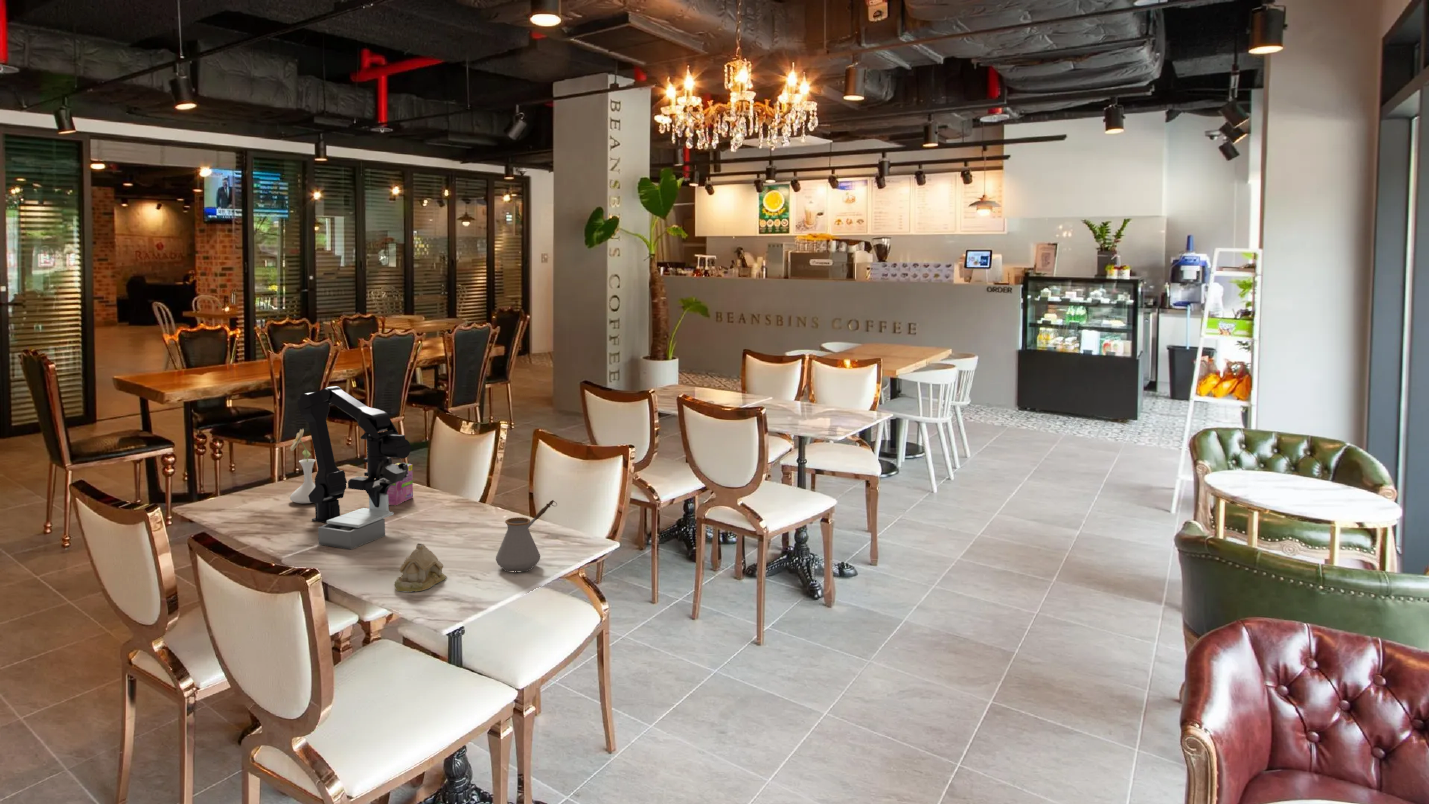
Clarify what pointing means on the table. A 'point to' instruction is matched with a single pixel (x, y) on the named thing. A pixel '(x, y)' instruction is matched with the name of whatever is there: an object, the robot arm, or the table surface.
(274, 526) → the table surface
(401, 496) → the box
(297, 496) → the flower in vase
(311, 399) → the robot arm
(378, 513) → the lid
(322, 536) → the tub
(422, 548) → the ceramic model
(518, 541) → the coffee pot
